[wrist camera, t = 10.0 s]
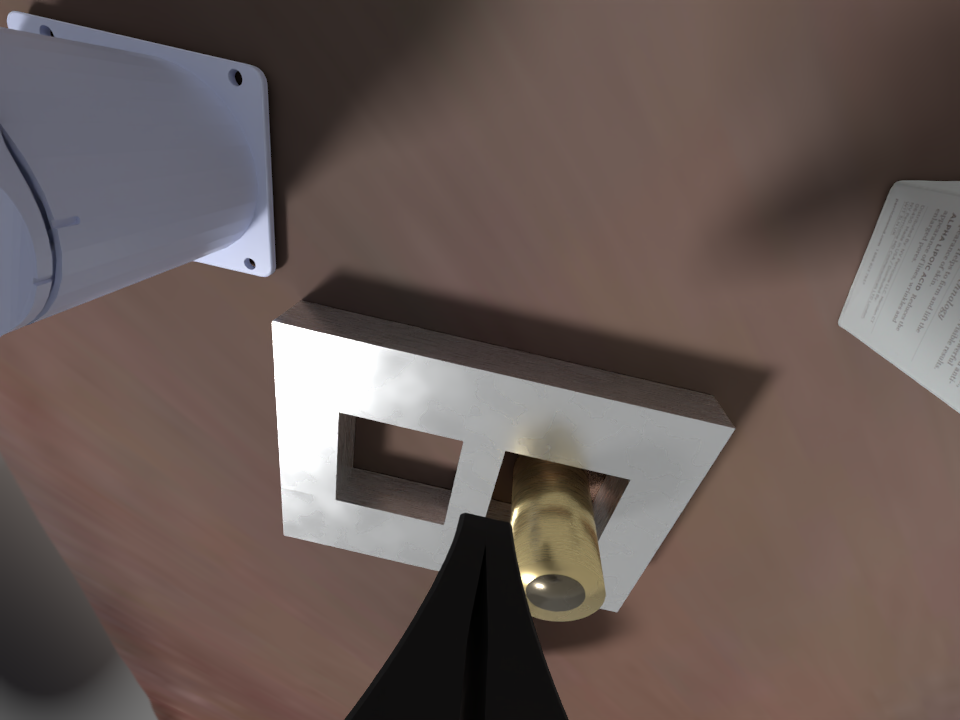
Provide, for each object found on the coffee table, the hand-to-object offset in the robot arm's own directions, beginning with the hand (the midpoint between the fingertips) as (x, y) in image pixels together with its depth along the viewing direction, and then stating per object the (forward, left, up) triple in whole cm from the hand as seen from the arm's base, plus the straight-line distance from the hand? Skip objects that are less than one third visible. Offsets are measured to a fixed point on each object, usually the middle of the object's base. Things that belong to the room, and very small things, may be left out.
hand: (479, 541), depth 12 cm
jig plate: (0, -6, -10) cm, 12 cm away
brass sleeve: (+4, -6, -10) cm, 13 cm away
